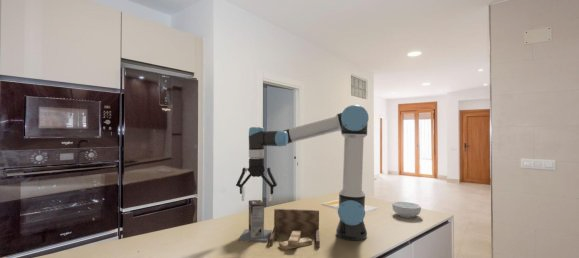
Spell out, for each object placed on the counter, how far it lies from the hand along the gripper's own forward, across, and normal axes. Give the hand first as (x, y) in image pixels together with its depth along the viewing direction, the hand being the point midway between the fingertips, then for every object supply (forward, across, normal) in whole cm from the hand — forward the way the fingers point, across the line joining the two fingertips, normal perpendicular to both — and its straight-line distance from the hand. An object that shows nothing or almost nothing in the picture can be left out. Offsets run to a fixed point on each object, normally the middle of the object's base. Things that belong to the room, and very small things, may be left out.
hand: (256, 200), depth 143 cm
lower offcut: (+19, -20, +9) cm, 29 cm away
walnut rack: (+18, -19, +2) cm, 27 cm away
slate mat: (+18, +1, 0) cm, 18 cm away
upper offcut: (+16, -20, +9) cm, 27 cm away
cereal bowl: (+19, -86, -45) cm, 99 cm away
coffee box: (+17, 0, 0) cm, 17 cm away
